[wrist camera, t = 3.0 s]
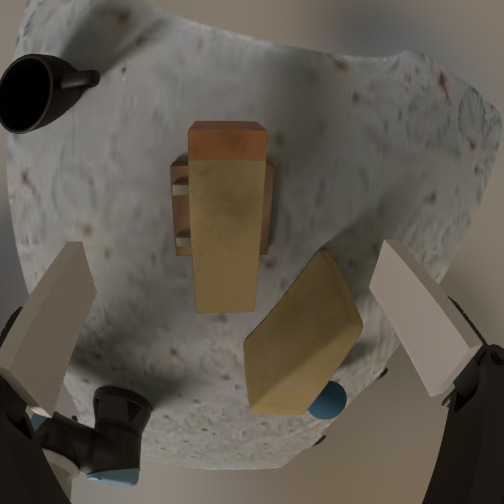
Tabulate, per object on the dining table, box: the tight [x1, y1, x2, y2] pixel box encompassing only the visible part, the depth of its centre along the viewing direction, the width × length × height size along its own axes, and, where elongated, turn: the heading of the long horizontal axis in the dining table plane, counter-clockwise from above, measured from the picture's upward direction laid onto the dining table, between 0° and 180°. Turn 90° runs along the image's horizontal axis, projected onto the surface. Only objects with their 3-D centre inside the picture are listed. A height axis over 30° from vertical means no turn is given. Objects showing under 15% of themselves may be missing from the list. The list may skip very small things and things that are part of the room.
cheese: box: [243, 249, 363, 415], centre depth 40 cm, size 22×10×15 cm, turn 158°
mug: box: [0, 54, 100, 134], centre depth 21 cm, size 8×12×10 cm
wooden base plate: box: [170, 163, 275, 256], centre depth 34 cm, size 12×12×6 cm
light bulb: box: [308, 381, 347, 419], centre depth 53 cm, size 8×8×12 cm
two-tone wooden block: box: [188, 121, 268, 313], centre depth 24 cm, size 15×5×9 cm, turn 177°
